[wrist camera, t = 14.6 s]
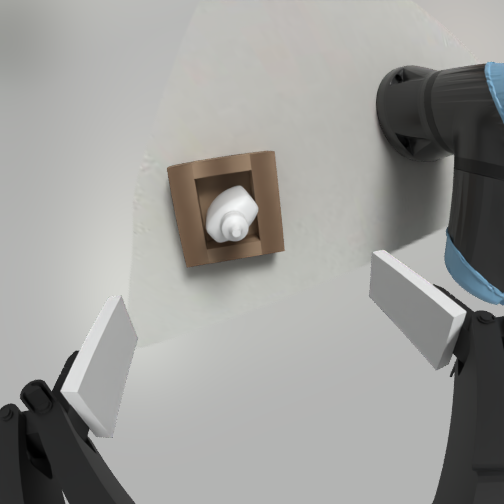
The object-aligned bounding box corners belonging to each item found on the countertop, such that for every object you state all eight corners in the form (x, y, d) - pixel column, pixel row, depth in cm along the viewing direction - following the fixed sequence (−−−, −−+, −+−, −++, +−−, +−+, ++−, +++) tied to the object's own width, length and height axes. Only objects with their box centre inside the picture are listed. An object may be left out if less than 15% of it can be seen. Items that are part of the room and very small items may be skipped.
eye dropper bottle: (253, 216, 36) (273, 250, 25) (209, 226, 36) (209, 264, 24) (247, 183, 34) (265, 201, 23) (202, 192, 34) (197, 215, 23)
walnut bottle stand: (267, 150, 34) (274, 151, 30) (277, 240, 39) (284, 250, 35) (171, 165, 33) (166, 167, 29) (188, 255, 38) (186, 267, 34)
